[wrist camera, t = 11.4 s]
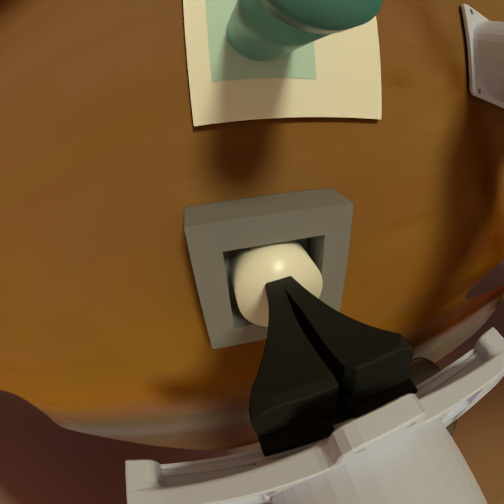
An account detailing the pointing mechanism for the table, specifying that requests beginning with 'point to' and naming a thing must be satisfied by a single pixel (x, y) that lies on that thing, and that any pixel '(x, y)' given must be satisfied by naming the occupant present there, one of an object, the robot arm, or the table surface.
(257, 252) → the button
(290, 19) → the teal marker
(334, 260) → the button box
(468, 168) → the table surface
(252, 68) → the paper sheet
